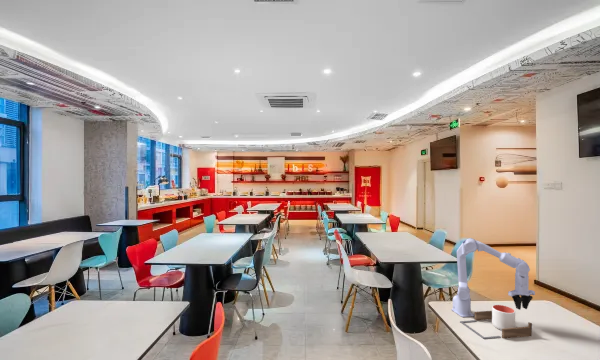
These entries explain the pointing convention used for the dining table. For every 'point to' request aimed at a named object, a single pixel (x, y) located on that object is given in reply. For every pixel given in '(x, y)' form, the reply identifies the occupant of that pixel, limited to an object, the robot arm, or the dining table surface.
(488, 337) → the bracket
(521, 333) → the wooden pieces
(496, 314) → the cup
